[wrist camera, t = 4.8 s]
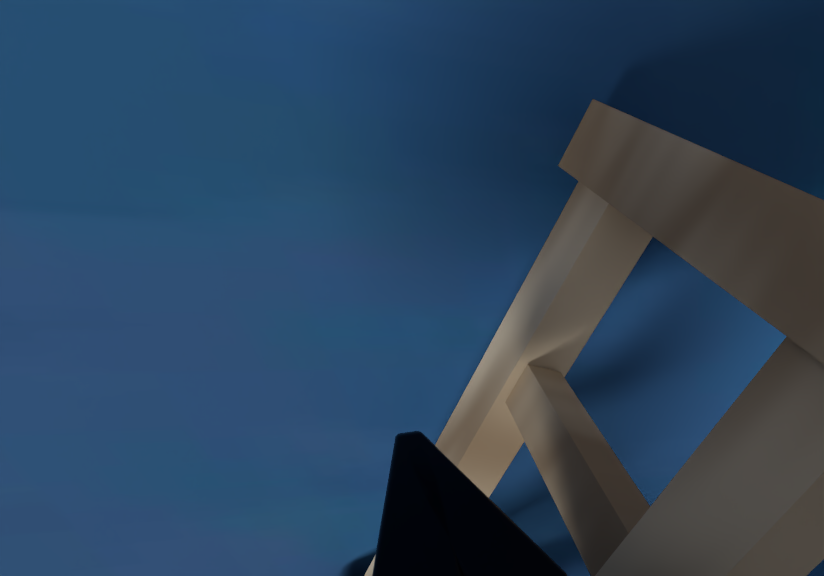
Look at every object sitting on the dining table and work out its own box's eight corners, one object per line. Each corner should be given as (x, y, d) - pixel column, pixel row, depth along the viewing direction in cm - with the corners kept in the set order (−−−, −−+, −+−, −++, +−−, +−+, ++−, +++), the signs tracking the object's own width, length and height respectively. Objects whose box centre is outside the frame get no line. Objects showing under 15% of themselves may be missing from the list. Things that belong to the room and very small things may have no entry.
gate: (366, 614, 18) (415, 1035, 11) (318, 611, 18) (338, 1053, 10) (646, 123, 12) (1230, 381, 4) (584, 95, 11) (1134, 336, 4)
